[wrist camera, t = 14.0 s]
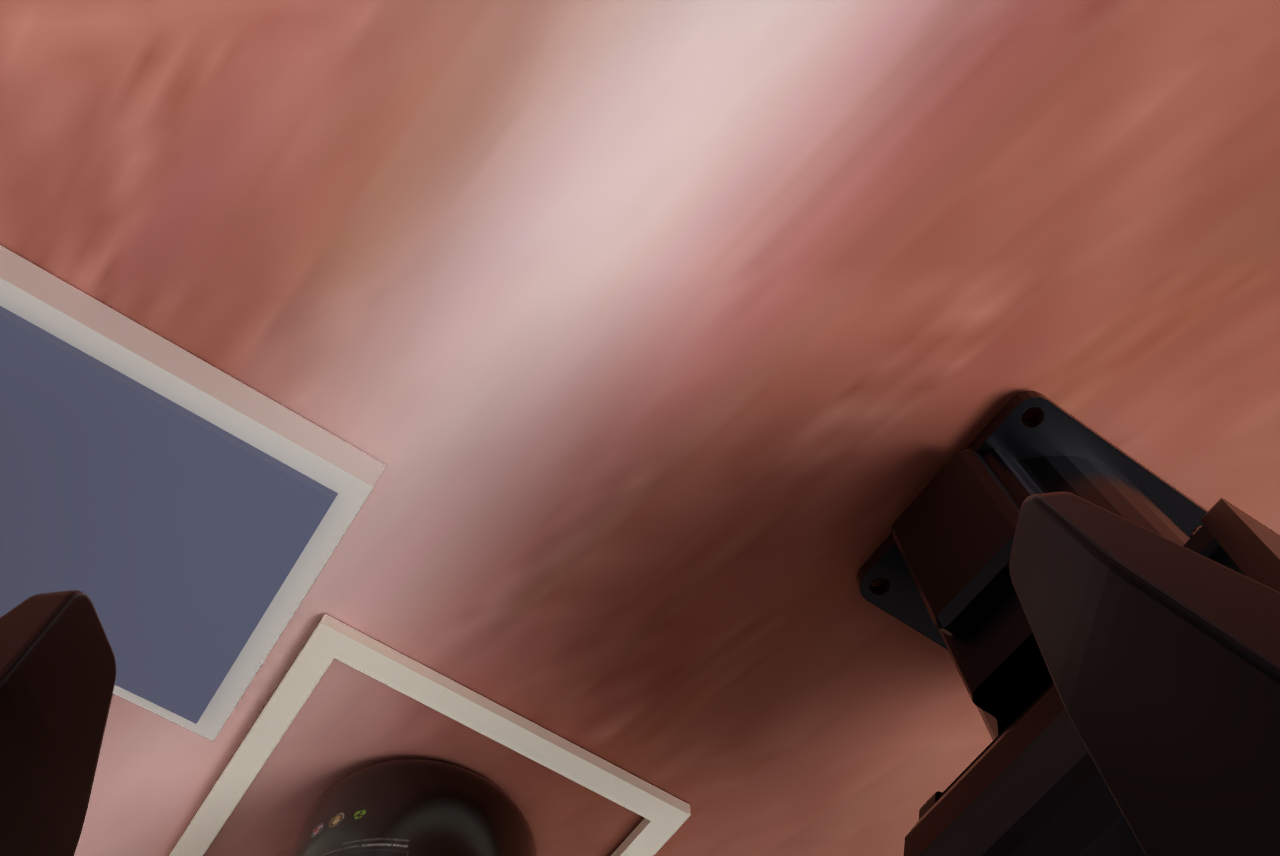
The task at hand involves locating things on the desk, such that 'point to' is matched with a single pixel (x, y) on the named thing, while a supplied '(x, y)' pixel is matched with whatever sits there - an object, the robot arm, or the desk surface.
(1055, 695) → the robot arm
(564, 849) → the desk surface
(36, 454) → the ink pad
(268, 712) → the marked square
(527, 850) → the supplement bottle
